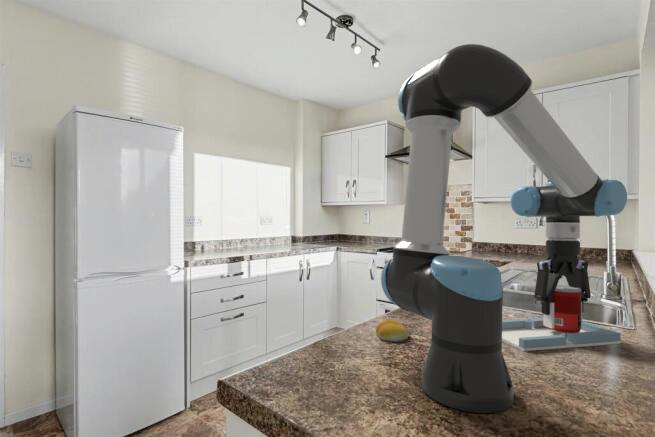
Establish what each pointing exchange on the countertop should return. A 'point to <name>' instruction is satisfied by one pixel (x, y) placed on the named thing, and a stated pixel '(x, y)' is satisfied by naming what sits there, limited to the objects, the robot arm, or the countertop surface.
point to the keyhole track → (554, 335)
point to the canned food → (567, 309)
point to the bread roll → (391, 331)
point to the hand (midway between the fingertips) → (562, 325)
